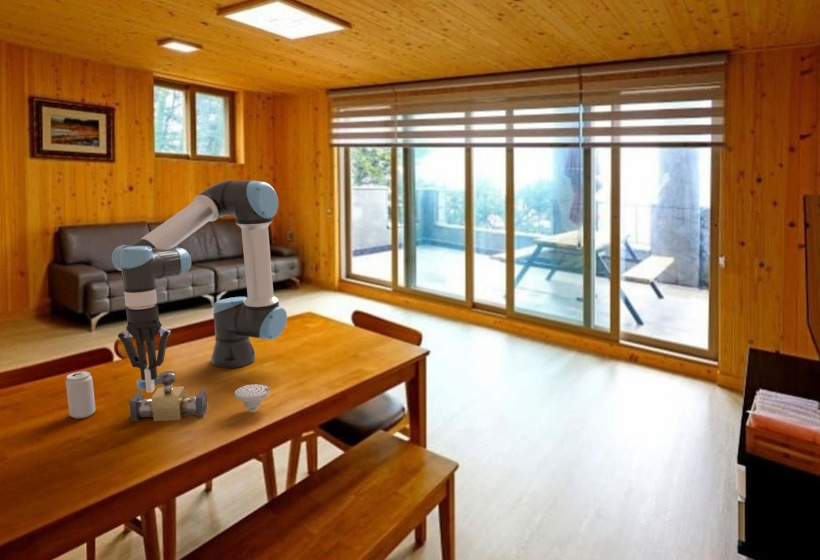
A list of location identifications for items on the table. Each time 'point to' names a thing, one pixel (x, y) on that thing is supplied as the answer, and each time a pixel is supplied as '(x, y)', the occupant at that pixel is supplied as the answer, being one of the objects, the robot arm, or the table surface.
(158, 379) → the lever
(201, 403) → the pipe in
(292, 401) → the table surface
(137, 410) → the pipe out
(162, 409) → the valve
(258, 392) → the showerhead
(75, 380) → the beverage can
